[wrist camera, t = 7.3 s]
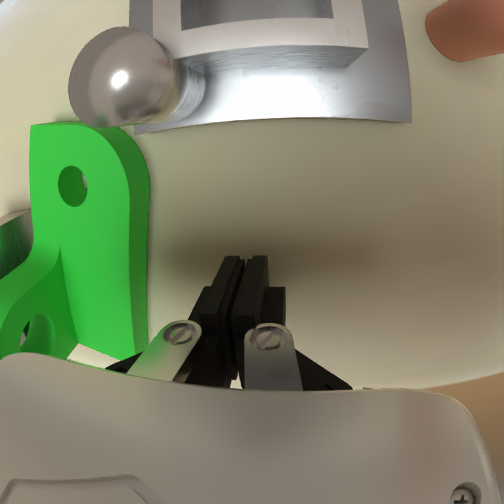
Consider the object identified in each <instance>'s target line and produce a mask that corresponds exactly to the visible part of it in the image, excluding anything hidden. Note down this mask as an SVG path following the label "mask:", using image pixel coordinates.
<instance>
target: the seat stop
mask: <svg viewBox="0 0 504 504" xmlns="http://www.w3.org/2000/svg"><path fill="white" fill-rule="evenodd" d="M33 241H34V232H33V223H32V212H31V209H28V210H23V211H18V212H13V213H8V214H7V215H5V216H3V217H1V218H0V280H1V279H2V278H4V277H5V276H6V275H7V274H9V273H10V272H11V271H13V270H14V269H15V268H17V267H18V266H19V265H21V264H22V263H23V262H24V261H25V260H26V259H27V258H28V256H29V254H30V252H31V250H32V246H33ZM29 326H30V320H29V321H28V323H27V324H26V326H25V328H24V330H23V333H22V336H21V341H20V346H21V345H22V344H23V343H24V341H25V339H26V337H27V335H28V331H29Z"/></svg>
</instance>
